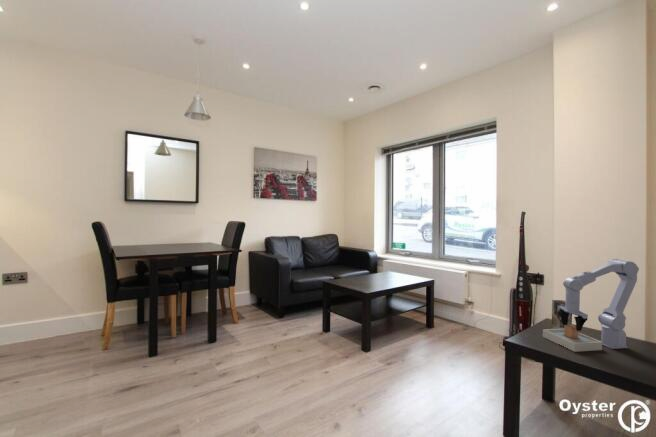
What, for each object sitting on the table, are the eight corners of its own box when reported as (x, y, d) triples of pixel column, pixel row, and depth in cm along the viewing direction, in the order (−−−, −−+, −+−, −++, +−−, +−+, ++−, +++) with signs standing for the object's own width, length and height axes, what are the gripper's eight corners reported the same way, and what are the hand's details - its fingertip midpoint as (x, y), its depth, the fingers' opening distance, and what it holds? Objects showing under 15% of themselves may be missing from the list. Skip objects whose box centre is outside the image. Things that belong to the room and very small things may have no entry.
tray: (568, 335, 170) (568, 328, 170) (602, 349, 152) (602, 341, 152) (542, 336, 167) (543, 329, 167) (574, 351, 150) (574, 343, 149)
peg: (570, 339, 162) (571, 324, 162) (577, 343, 158) (578, 327, 158) (564, 340, 161) (564, 324, 161) (571, 343, 157) (571, 327, 157)
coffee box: (572, 333, 173) (573, 304, 173) (559, 332, 175) (560, 303, 174) (563, 327, 182) (564, 300, 182) (551, 326, 184) (551, 299, 183)
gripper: (553, 297, 166) (552, 323, 166) (579, 306, 151) (578, 333, 152) (564, 297, 167) (563, 322, 167) (591, 305, 153) (590, 332, 153)
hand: (571, 327), depth 160 cm, fingers open, 7 cm apart
